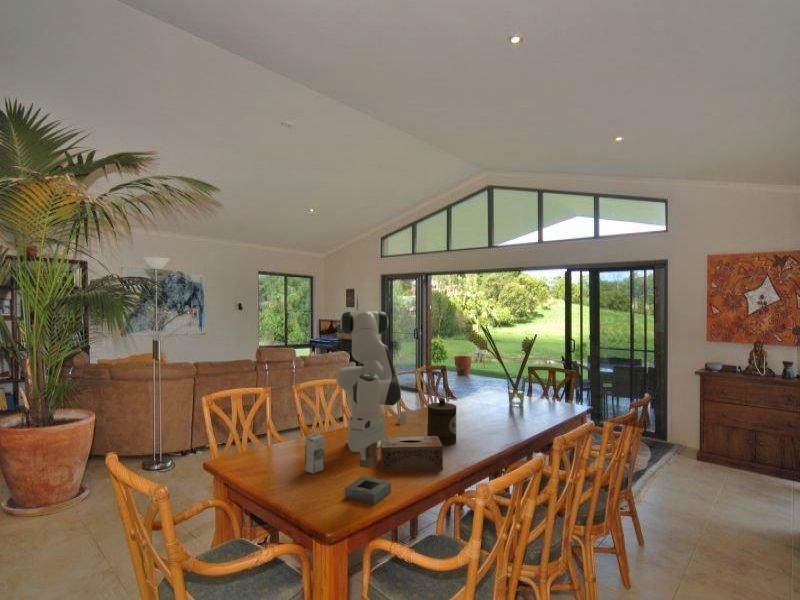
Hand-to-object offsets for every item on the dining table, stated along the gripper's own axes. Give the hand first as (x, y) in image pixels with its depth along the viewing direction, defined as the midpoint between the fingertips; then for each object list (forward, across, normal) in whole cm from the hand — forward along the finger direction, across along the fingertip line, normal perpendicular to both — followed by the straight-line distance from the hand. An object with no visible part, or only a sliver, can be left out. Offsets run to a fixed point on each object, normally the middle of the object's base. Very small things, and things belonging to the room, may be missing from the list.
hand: (368, 457), depth 157 cm
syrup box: (+14, -9, -32) cm, 36 cm away
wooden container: (+14, -71, 0) cm, 72 cm away
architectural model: (+14, -92, -34) cm, 99 cm away
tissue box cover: (+14, -35, 0) cm, 38 cm away
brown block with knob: (+3, 0, 0) cm, 3 cm away
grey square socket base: (+14, 0, 0) cm, 14 cm away
